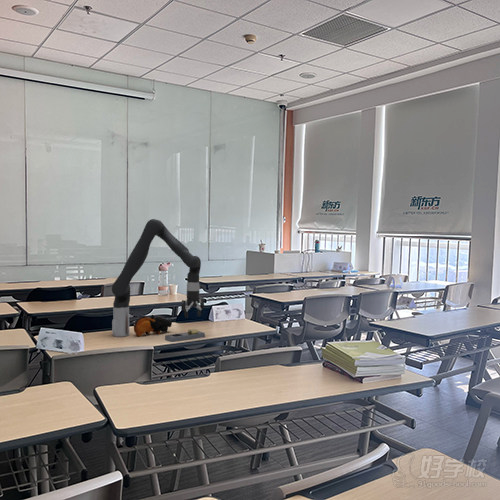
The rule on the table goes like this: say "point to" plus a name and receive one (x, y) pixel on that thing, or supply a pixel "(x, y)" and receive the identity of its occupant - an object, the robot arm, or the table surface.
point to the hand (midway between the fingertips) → (192, 317)
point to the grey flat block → (183, 336)
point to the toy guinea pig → (151, 325)
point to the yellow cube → (192, 331)
